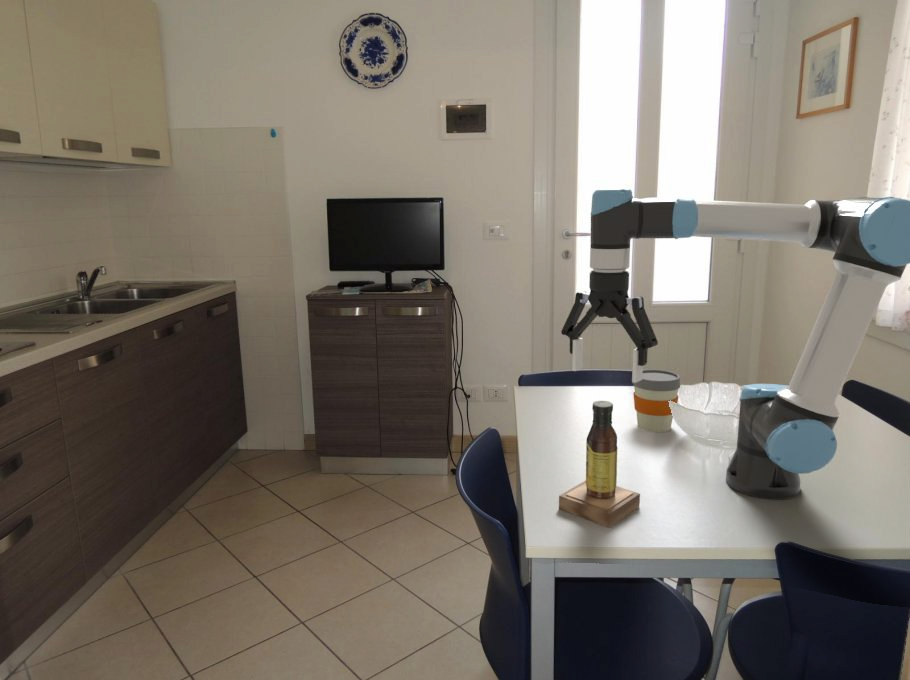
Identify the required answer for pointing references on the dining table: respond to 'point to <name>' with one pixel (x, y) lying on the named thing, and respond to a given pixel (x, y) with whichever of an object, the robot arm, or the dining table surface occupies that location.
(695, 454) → the dining table surface
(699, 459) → the dining table surface
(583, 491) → the pedestal
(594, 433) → the sauce bottle
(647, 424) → the reusable coffee cup
